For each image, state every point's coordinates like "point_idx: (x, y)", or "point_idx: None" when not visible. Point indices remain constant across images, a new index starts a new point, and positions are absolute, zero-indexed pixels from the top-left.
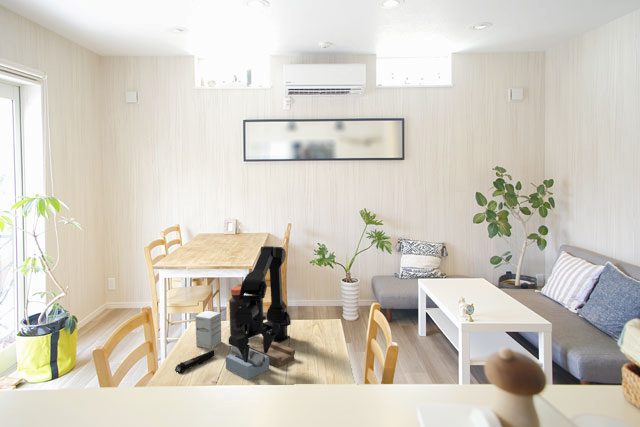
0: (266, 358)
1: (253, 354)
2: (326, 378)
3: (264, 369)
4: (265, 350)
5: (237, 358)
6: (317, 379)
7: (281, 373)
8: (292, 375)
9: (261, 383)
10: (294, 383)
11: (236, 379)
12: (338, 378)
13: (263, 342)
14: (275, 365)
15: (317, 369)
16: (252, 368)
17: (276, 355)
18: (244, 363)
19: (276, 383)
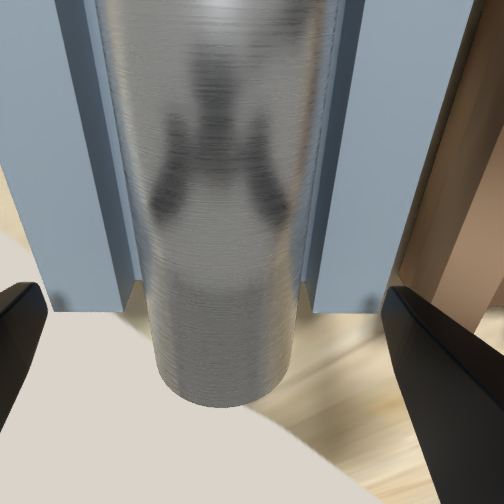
0: (336, 308)
1: (178, 325)
2: (403, 472)
3: None
4: (394, 337)
5: (35, 10)
6: (375, 459)
7: (333, 332)
8: (347, 382)
9: (149, 325)
10: (280, 424)
11: None
12: (425, 492)
13: (483, 395)
14: (410, 246)
15: None
16: (132, 283)
17: (481, 290)
18: (56, 234)
19: None
